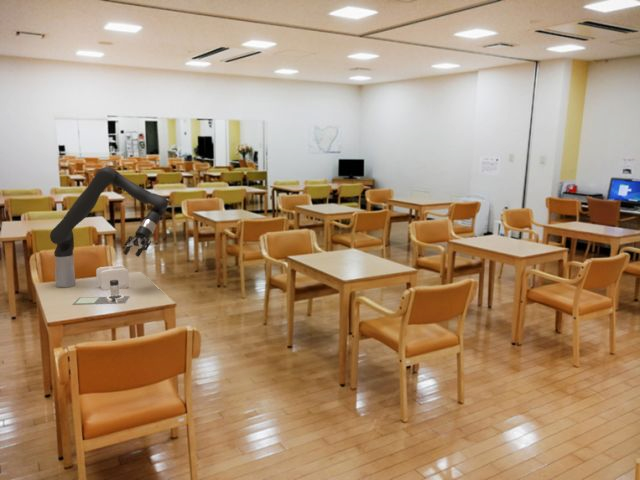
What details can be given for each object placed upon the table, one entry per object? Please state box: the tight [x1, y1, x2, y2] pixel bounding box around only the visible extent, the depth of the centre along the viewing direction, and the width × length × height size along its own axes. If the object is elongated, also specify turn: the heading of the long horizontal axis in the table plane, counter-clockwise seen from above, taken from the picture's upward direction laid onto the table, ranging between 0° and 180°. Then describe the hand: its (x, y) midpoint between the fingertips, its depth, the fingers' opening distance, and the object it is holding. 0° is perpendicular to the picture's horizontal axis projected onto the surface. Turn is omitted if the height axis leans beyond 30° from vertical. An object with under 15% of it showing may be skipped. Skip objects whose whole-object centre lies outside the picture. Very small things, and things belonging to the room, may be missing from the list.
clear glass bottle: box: [109, 280, 120, 301], centre depth 270 cm, size 4×4×10 cm
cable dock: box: [71, 294, 131, 306], centre depth 270 cm, size 25×12×3 cm, turn 97°
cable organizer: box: [95, 264, 130, 291], centre depth 294 cm, size 15×11×12 cm
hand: (130, 254), depth 277 cm, fingers open, 8 cm apart
